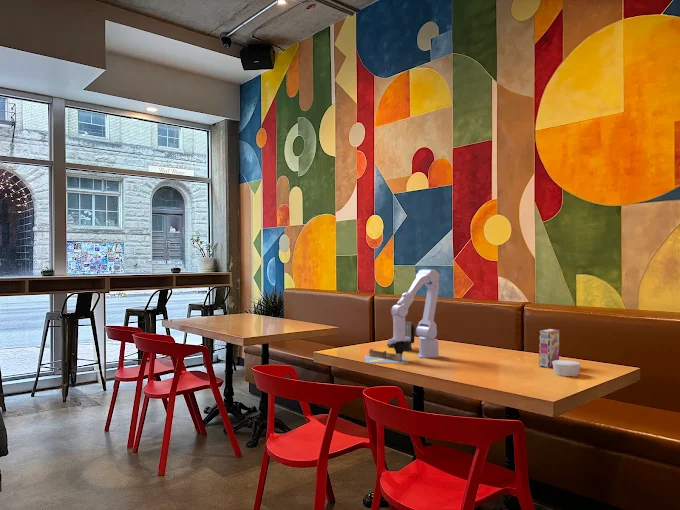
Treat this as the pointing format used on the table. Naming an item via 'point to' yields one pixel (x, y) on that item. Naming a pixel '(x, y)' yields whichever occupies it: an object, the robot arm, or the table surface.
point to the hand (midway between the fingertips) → (399, 357)
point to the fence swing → (394, 356)
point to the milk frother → (408, 333)
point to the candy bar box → (548, 347)
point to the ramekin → (566, 367)
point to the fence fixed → (377, 353)
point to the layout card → (382, 360)
